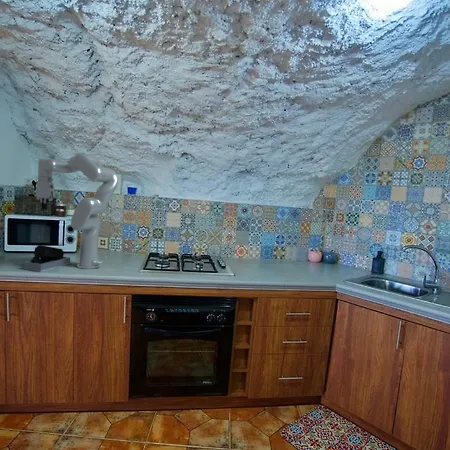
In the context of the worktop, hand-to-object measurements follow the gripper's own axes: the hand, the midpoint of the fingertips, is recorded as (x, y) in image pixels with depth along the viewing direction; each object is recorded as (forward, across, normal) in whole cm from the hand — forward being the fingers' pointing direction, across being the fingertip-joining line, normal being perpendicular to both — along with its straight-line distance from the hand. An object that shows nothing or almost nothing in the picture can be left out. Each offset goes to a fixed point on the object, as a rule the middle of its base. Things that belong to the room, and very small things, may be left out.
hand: (44, 209), depth 195 cm
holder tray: (+31, -16, +14) cm, 37 cm away
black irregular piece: (+30, -16, +15) cm, 37 cm away
